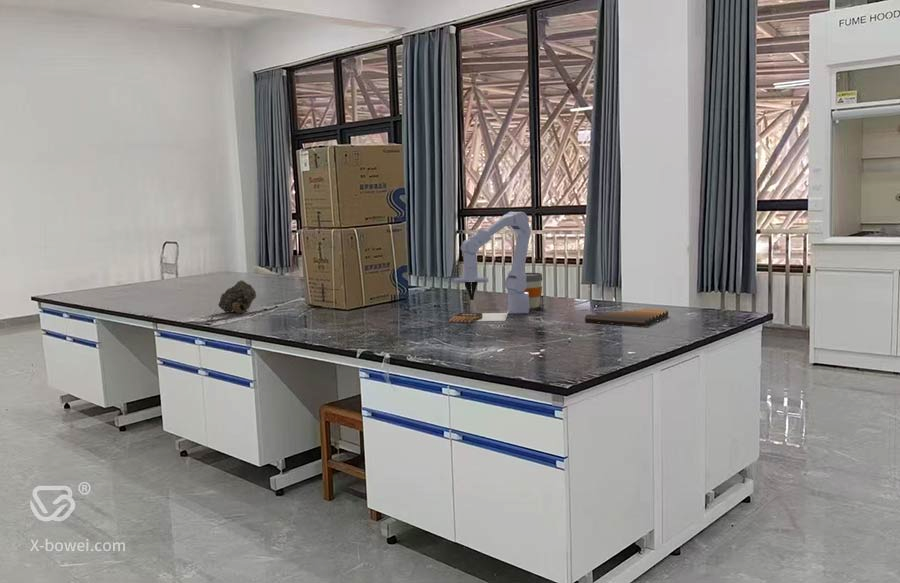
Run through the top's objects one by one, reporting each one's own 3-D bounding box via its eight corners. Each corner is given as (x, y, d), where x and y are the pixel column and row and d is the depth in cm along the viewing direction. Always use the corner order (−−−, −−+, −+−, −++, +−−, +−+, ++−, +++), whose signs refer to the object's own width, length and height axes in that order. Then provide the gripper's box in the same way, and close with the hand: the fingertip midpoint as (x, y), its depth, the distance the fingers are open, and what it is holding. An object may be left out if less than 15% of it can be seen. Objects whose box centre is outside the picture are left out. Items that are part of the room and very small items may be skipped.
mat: (508, 313, 323) (508, 312, 323) (504, 321, 306) (504, 320, 306) (479, 314, 325) (479, 313, 325) (474, 321, 308) (474, 320, 308)
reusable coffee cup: (545, 308, 333) (544, 275, 331) (517, 309, 333) (516, 276, 331) (541, 303, 346) (540, 272, 344) (514, 305, 346) (513, 273, 344)
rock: (235, 275, 368) (244, 272, 355) (258, 294, 373) (267, 292, 360) (211, 303, 360) (220, 301, 348) (234, 322, 365) (243, 321, 353)
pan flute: (584, 323, 296) (644, 328, 281) (584, 315, 296) (644, 319, 281) (611, 313, 316) (668, 317, 301) (611, 305, 315) (668, 309, 300)
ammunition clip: (460, 317, 318) (447, 323, 308) (459, 312, 318) (446, 319, 307) (482, 317, 313) (470, 324, 303) (482, 313, 313) (469, 319, 302)
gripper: (488, 266, 317) (489, 297, 319) (454, 267, 318) (455, 298, 320) (487, 268, 310) (488, 300, 312) (453, 269, 312) (454, 301, 313)
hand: (471, 299), depth 316 cm, fingers closed
